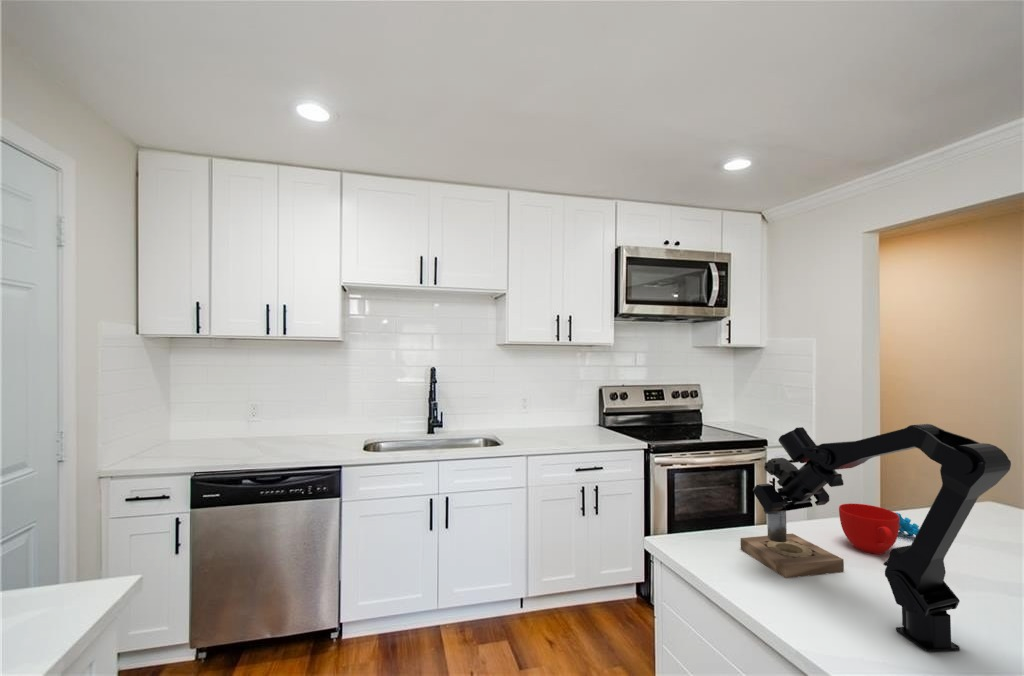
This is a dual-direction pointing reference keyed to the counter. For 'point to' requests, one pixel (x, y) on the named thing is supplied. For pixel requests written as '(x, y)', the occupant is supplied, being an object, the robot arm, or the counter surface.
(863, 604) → the counter surface
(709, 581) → the counter surface
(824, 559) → the bearing housing
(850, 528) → the ceramic cup
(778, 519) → the steel roller
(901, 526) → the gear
